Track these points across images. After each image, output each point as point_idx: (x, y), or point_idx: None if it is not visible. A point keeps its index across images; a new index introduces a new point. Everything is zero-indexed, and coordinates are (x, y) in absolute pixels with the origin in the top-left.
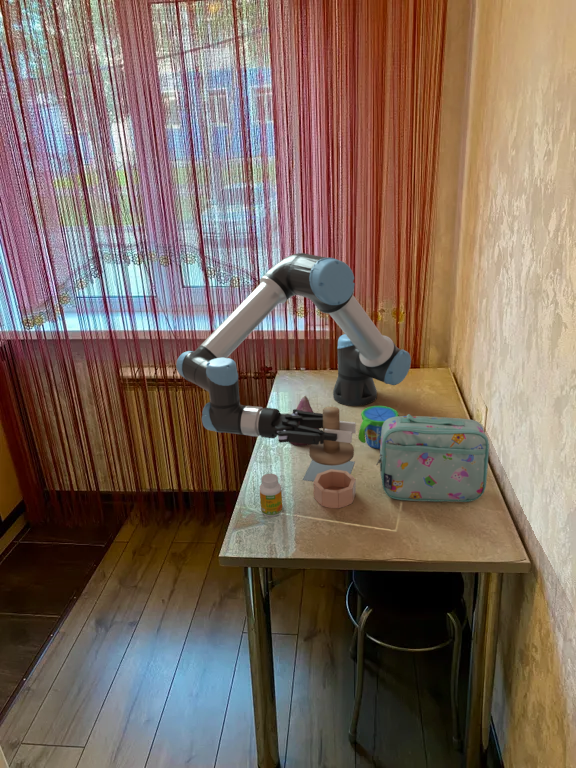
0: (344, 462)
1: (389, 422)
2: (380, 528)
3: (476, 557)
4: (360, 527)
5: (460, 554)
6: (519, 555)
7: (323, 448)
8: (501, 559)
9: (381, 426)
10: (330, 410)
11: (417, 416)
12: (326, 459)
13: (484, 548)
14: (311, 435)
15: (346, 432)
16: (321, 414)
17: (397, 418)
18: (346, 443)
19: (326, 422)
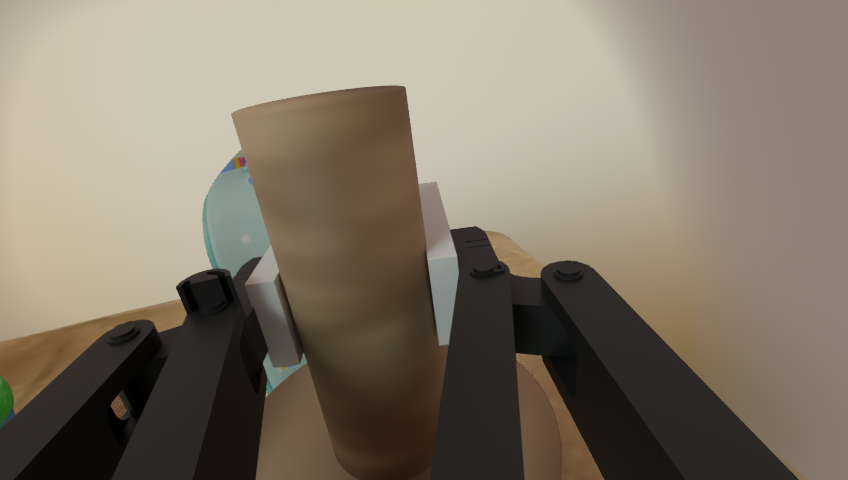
0: None
1: (252, 193)
2: (545, 393)
3: (526, 259)
4: (578, 442)
5: (533, 272)
6: (489, 233)
7: (413, 467)
8: (511, 242)
9: (2, 424)
10: (326, 98)
11: (237, 156)
12: (535, 409)
13: (497, 257)
14: (617, 294)
15: (437, 190)
16: (75, 379)
17: (234, 178)
18: (304, 380)
19: (414, 195)
